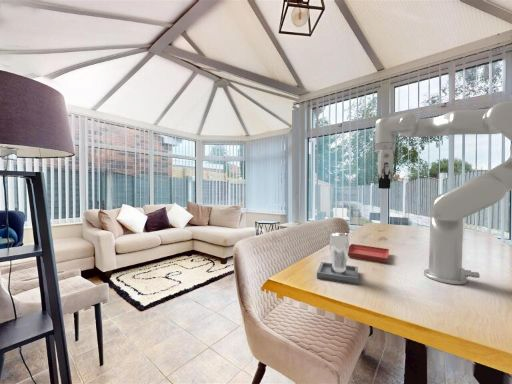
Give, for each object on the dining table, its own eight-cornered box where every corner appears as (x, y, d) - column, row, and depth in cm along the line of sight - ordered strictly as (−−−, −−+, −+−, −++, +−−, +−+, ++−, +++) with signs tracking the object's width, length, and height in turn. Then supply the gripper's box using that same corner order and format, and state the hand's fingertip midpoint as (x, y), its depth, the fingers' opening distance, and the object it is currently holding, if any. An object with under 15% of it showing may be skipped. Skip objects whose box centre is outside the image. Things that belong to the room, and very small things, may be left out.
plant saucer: (389, 255, 116) (389, 248, 116) (387, 265, 101) (387, 257, 101) (351, 249, 126) (351, 243, 126) (344, 258, 110) (344, 251, 110)
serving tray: (357, 272, 91) (357, 266, 91) (358, 284, 79) (358, 278, 79) (321, 267, 97) (321, 261, 97) (316, 278, 85) (316, 272, 85)
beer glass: (345, 270, 91) (346, 232, 91) (351, 277, 84) (351, 236, 84) (327, 269, 92) (328, 232, 91) (331, 276, 85) (332, 235, 84)
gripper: (399, 144, 88) (398, 188, 88) (391, 150, 104) (391, 188, 104) (376, 145, 91) (376, 188, 91) (373, 151, 107) (372, 188, 107)
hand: (384, 188), depth 98 cm, fingers open, 9 cm apart
